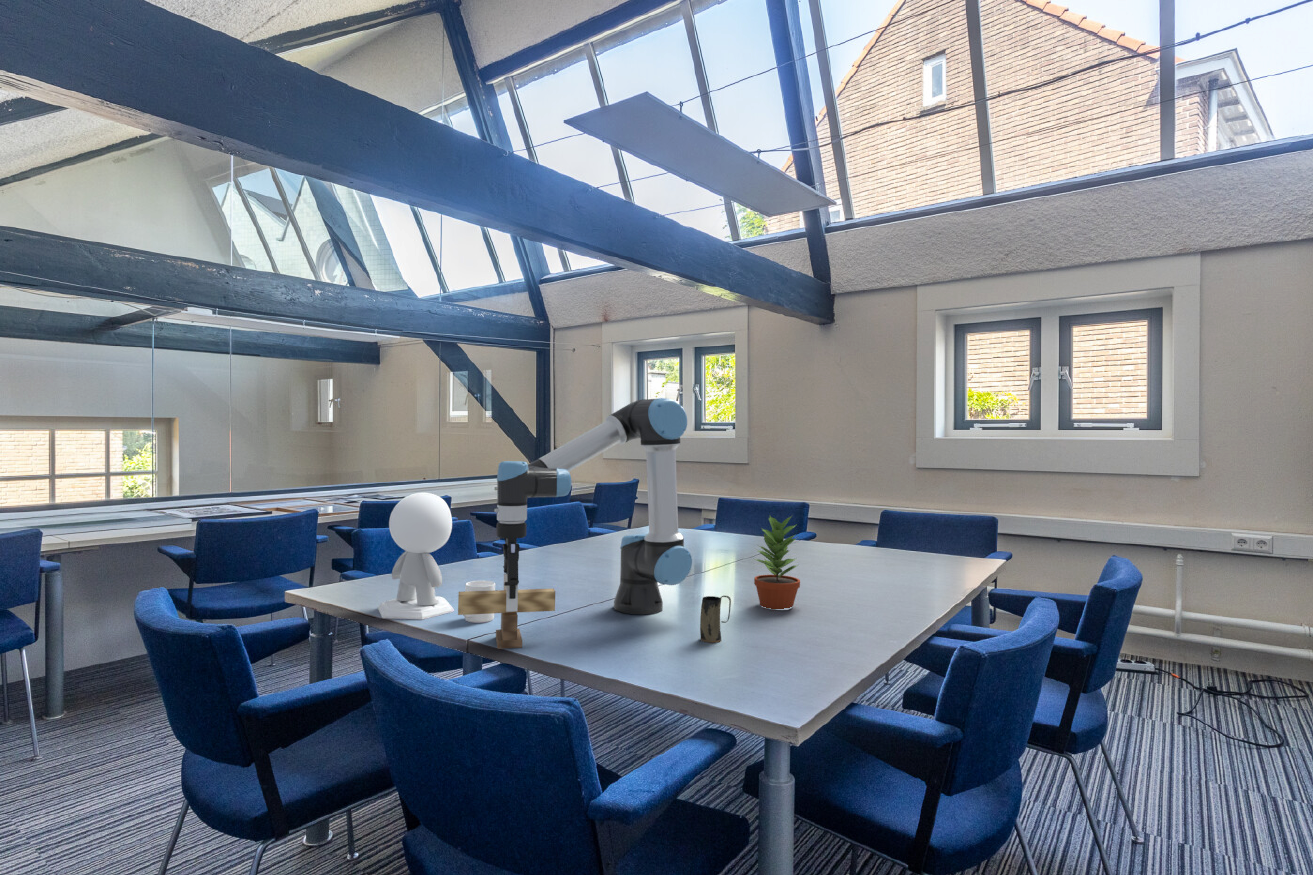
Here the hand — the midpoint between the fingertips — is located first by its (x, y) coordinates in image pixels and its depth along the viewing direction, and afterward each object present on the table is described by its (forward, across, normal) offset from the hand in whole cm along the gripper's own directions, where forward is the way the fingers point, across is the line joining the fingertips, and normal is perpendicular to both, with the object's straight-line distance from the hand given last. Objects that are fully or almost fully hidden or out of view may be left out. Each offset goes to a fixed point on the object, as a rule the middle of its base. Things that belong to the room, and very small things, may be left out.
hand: (510, 604), depth 177 cm
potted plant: (+10, -23, +85) cm, 88 cm away
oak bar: (+2, 0, -1) cm, 2 cm away
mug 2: (+10, +8, +53) cm, 54 cm away
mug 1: (+10, -22, -8) cm, 25 cm away
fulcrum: (+10, 0, 0) cm, 10 cm away
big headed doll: (+10, -37, -25) cm, 46 cm away
